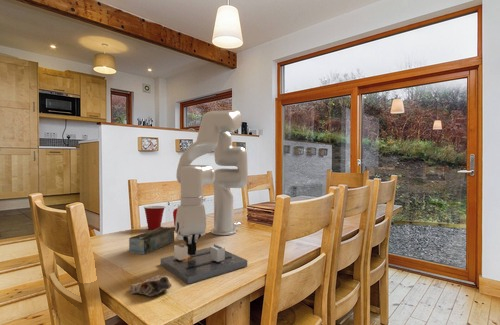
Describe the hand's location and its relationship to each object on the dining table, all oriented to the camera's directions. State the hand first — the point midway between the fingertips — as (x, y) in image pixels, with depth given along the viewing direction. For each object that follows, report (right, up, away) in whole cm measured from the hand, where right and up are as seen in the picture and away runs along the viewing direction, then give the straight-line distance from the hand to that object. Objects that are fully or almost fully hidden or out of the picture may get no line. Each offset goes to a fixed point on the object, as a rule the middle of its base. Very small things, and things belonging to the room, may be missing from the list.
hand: (191, 253), depth 97 cm
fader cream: (-3, -1, -2) cm, 4 cm away
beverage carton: (-19, -3, +18) cm, 27 cm away
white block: (+10, 0, -4) cm, 10 cm away
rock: (-7, -4, -22) cm, 23 cm away
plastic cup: (-29, -3, +47) cm, 56 cm away
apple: (-16, -3, +50) cm, 53 cm away
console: (+5, -3, -3) cm, 6 cm away
